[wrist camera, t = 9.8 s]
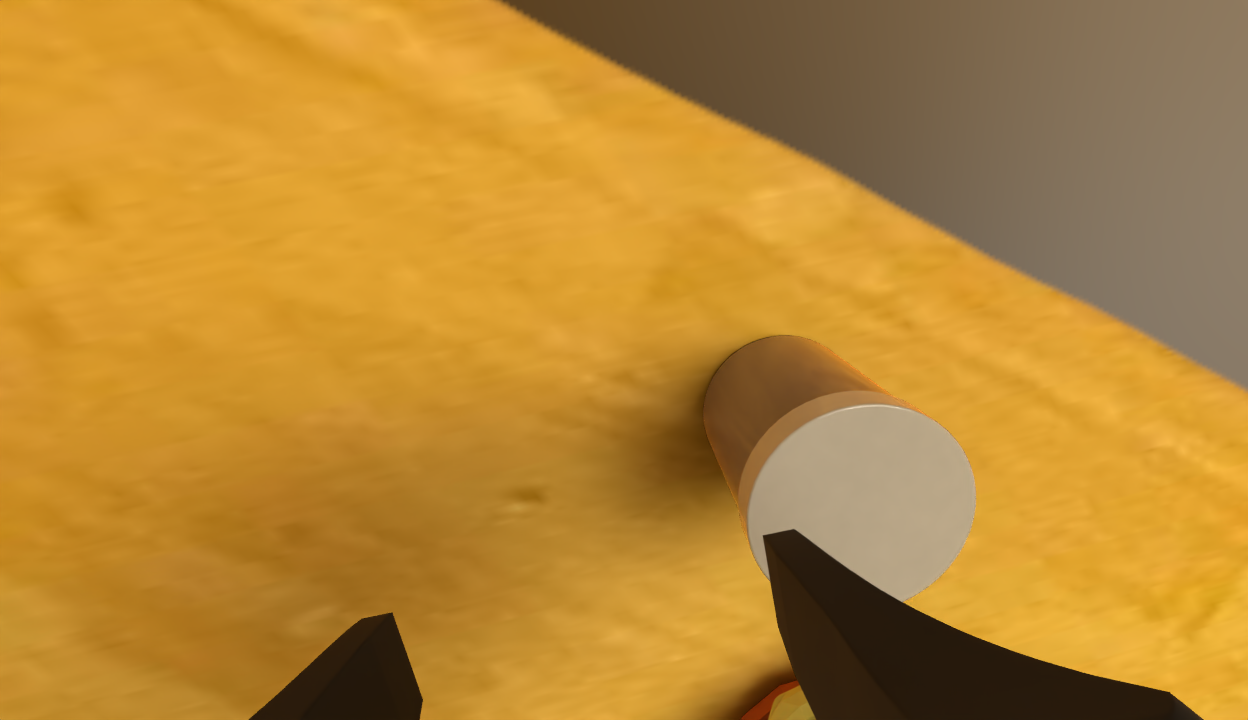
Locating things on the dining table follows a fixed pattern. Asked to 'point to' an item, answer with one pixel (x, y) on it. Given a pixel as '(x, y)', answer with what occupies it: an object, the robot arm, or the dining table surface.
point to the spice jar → (838, 464)
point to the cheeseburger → (782, 705)
